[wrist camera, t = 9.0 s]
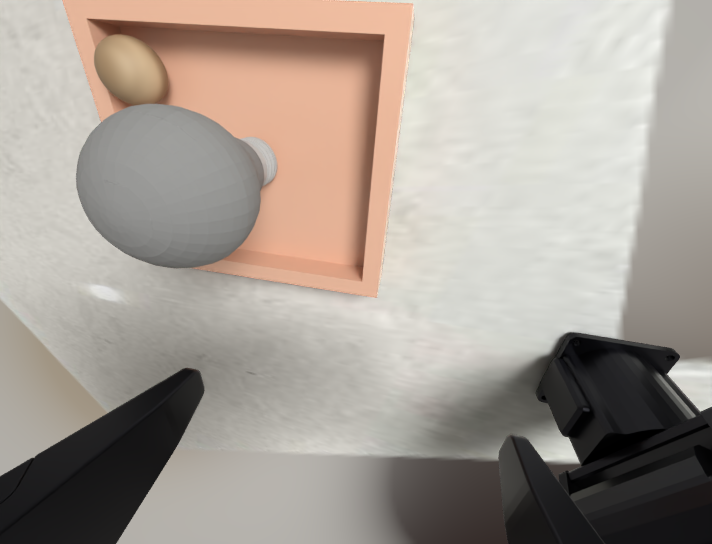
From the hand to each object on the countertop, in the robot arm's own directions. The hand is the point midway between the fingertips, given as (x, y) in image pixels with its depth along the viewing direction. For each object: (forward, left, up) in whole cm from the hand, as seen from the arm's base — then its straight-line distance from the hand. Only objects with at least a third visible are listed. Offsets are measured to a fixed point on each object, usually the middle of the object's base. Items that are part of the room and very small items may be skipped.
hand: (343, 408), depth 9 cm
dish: (+8, -4, -12) cm, 15 cm away
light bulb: (+8, -4, -12) cm, 15 cm away
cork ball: (+13, -8, -12) cm, 20 cm away
